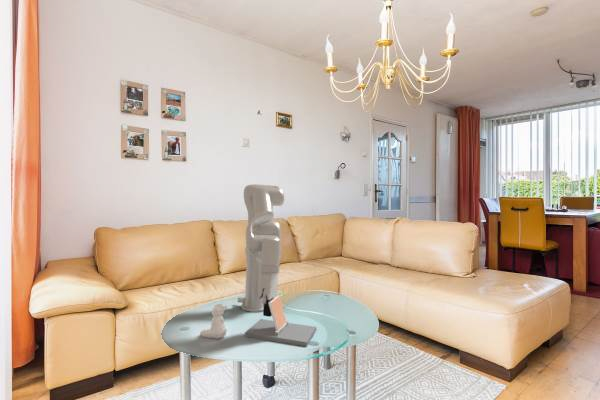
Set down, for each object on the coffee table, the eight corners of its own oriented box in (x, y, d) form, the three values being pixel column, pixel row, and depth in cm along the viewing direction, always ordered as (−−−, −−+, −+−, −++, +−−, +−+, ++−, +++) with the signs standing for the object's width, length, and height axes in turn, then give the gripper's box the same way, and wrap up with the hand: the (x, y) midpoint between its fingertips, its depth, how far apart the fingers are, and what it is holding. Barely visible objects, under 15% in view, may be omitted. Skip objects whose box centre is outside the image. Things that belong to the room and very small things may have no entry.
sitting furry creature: (220, 329, 129) (221, 298, 129) (234, 335, 124) (235, 303, 124) (199, 335, 122) (200, 303, 122) (212, 342, 116) (214, 308, 117)
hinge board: (244, 336, 123) (245, 328, 123) (260, 322, 138) (261, 315, 139) (306, 346, 117) (307, 338, 117) (316, 330, 132) (316, 323, 132)
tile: (268, 302, 124) (270, 302, 124) (276, 296, 134) (279, 295, 134) (276, 331, 123) (278, 331, 123) (284, 322, 133) (286, 322, 132)
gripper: (267, 265, 138) (265, 309, 137) (253, 271, 124) (251, 320, 123) (284, 266, 136) (282, 311, 135) (272, 273, 121) (269, 323, 121)
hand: (267, 315), depth 129 cm, fingers closed
